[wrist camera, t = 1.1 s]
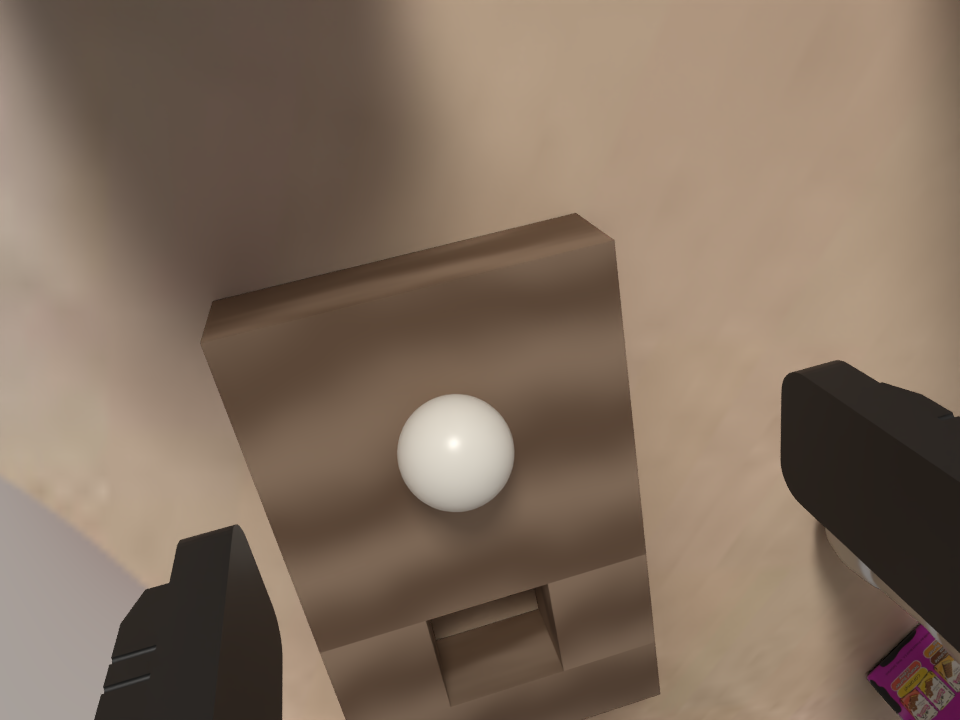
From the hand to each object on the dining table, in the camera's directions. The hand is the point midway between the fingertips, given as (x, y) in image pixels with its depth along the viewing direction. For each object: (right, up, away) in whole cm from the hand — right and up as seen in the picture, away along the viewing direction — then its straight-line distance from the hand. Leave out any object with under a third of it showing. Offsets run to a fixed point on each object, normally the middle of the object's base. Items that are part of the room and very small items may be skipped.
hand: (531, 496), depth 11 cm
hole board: (-2, -5, +27) cm, 28 cm away
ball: (-2, -2, +18) cm, 18 cm away
